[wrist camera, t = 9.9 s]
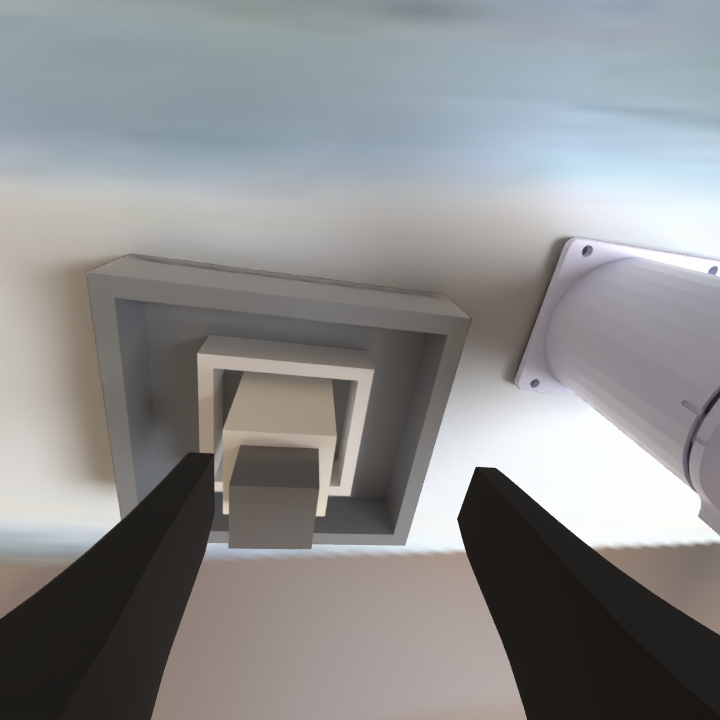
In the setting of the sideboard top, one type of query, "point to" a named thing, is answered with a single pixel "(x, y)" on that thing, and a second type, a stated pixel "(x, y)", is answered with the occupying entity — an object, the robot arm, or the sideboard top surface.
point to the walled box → (280, 356)
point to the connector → (277, 459)
